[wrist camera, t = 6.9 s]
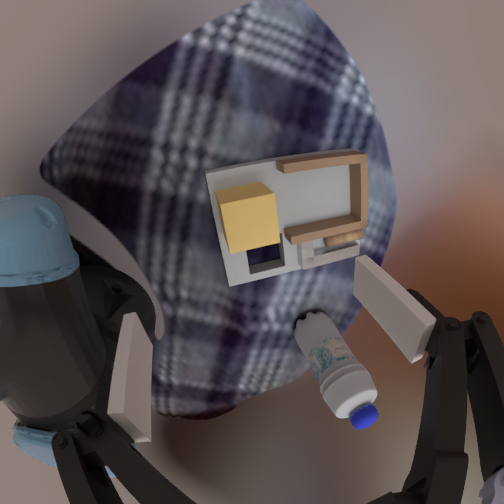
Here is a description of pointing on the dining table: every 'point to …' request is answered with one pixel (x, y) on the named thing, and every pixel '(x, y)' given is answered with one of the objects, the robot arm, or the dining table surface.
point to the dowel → (343, 238)
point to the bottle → (337, 370)
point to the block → (248, 216)
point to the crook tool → (324, 253)
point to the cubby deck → (297, 203)
